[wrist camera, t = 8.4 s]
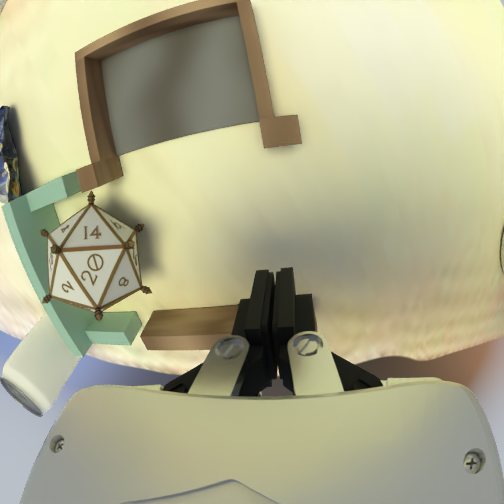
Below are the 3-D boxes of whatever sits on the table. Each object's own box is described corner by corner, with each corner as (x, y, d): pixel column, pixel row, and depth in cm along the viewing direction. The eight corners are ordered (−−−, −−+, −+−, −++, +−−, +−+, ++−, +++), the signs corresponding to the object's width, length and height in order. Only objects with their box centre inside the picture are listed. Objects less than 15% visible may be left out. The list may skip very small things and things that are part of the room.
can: (92, 352, 28) (51, 427, 17) (53, 330, 27) (7, 395, 16) (91, 318, 25) (36, 401, 14) (47, 294, 24) (-12, 363, 13)
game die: (127, 203, 23) (70, 149, 13) (188, 267, 22) (145, 238, 12) (68, 272, 21) (-6, 253, 12) (121, 341, 20) (49, 358, 11)
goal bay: (84, 168, 18) (43, 183, 13) (142, 324, 24) (122, 361, 20) (38, 188, 18) (1, 206, 14) (94, 324, 25) (73, 355, 21)
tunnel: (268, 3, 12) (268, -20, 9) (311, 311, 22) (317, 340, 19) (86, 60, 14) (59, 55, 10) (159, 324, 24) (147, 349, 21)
